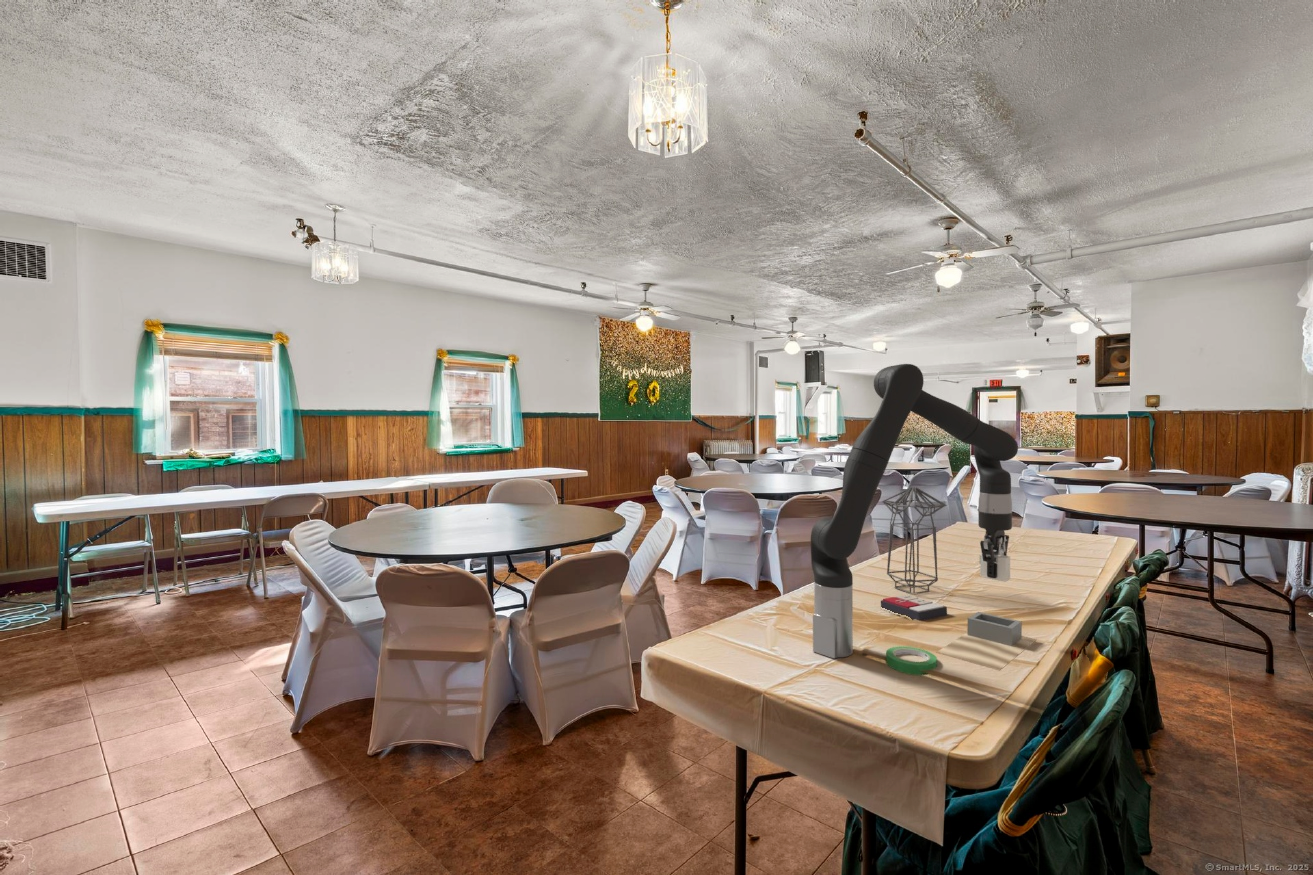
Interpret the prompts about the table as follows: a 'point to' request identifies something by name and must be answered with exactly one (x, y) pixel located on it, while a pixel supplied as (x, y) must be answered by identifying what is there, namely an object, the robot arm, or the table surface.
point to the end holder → (994, 628)
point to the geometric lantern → (912, 534)
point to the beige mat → (985, 651)
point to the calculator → (914, 607)
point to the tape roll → (910, 666)
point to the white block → (1002, 568)
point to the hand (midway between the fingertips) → (994, 575)
